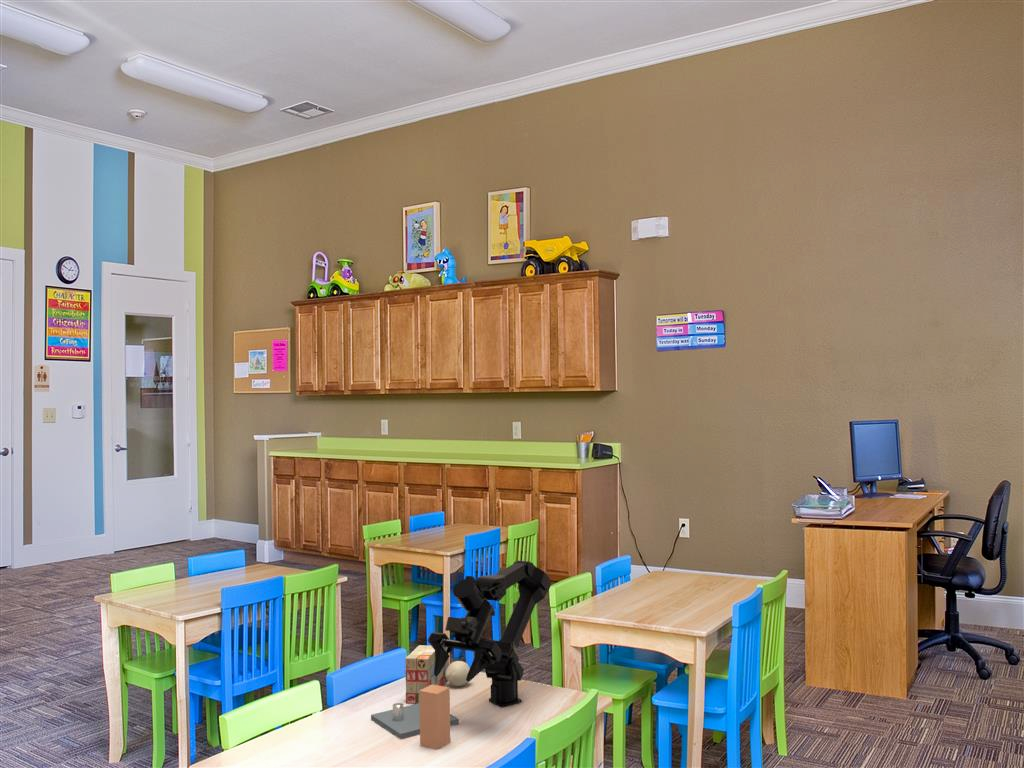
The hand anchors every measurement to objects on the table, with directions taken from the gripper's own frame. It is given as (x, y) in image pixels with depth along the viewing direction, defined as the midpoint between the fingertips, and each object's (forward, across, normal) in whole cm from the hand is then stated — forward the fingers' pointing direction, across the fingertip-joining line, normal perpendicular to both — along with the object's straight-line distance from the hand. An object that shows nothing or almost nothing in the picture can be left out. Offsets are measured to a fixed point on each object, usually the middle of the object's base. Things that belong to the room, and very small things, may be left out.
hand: (451, 678), depth 198 cm
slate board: (+8, -13, +11) cm, 18 cm away
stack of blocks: (-7, -23, +26) cm, 35 cm away
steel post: (+10, -15, +9) cm, 20 cm away
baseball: (-12, -18, +31) cm, 38 cm away
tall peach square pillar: (+14, 0, +4) cm, 15 cm away
